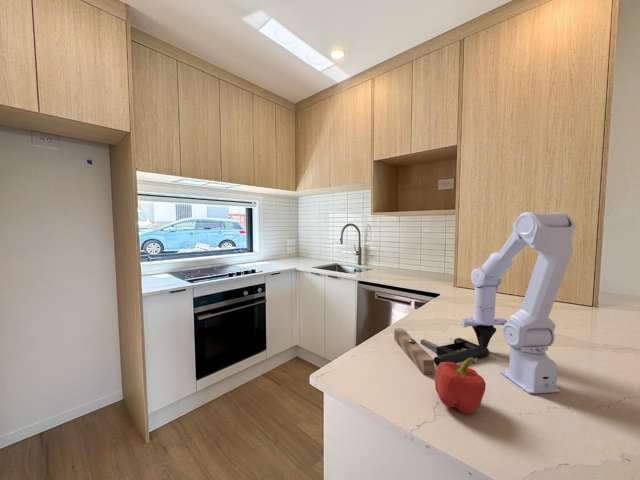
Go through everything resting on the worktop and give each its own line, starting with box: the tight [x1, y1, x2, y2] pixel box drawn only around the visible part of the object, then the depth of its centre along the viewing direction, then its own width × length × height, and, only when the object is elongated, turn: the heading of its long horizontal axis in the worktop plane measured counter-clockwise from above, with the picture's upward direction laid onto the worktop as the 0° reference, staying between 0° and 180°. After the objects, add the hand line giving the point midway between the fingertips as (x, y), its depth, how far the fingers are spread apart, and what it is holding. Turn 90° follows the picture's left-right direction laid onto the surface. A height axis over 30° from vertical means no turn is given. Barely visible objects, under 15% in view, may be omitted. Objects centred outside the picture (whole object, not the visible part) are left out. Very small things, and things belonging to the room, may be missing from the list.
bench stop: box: [393, 327, 435, 375], centre depth 83 cm, size 22×3×5 cm, turn 5°
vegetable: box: [434, 358, 487, 414], centre depth 60 cm, size 11×10×10 cm
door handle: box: [420, 337, 490, 367], centre depth 85 cm, size 3×20×16 cm
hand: (482, 347), depth 86 cm, fingers closed
